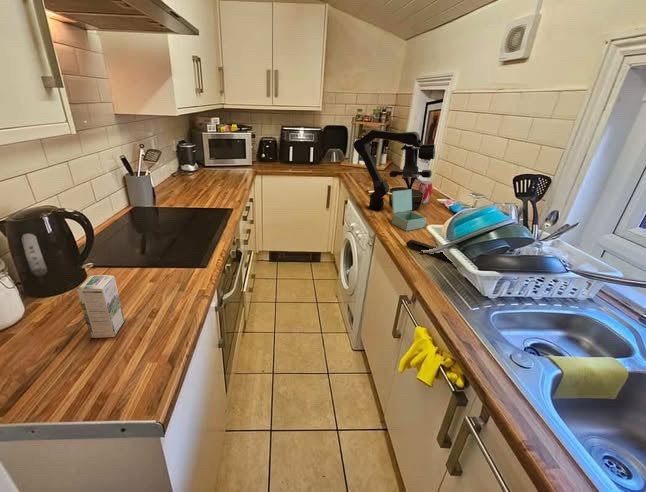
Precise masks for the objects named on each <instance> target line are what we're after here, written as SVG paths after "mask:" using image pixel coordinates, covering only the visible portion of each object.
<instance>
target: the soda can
mask: <svg viewBox="0 0 646 492" xmlns="http://www.w3.org/2000/svg"><path fill="white" fill-rule="evenodd" d="M433 188H434V186H433V181H429V180H422V181H421V182H420V183H419V186H418V191H421V192H422V193H423V199H422V202H421V203H420V204H424V205H425V204H429V203H430V200H431V197H432V192H433ZM418 191H417V192H418Z"/></svg>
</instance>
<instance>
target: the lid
mask: <svg viewBox="0 0 646 492" xmlns="http://www.w3.org/2000/svg"><path fill="white" fill-rule="evenodd" d="M391 205H392V207H391V208H392V214H396V213H402V212H408V211H413V190H412V188H411V189H408V188H407V189H401V190H393V191H391Z"/></svg>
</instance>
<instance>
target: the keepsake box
mask: <svg viewBox="0 0 646 492" xmlns="http://www.w3.org/2000/svg"><path fill="white" fill-rule="evenodd" d="M426 222H427V217H426V216H423V215H422V214H419V213H417V212H415V211H413V210H409V211H403V212H397V213H392V218H391V224H392V225H394V226H396V227H398V228H399V229H402V230H403V231H405V232H408V231H413V230H418V229H422V228H425V227H426Z"/></svg>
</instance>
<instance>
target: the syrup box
mask: <svg viewBox="0 0 646 492" xmlns="http://www.w3.org/2000/svg"><path fill="white" fill-rule="evenodd" d="M115 276H116V275H110V274H109V275H108V274H97V275H90V276H89V277H88V278H86V280H84V282H83V283H82V284H81V285H80V286H79V287H78V288H77V289H76V292H77V297H78V299H79V302H80V307H81V309H82V313H83V315H84V316H83V317H84V320H85V323H86V327H87V330H88V333H89V337H90V338H91V339H99V338H101V339H103V338H115V337H116V335H117V334H118V332H119V331H120V329H121V327H122V326H123V324H124V323H125V317H124V312H123V308H122V307H123V306H122V302H121V299H120V298H121V297H120V295H119V290H118V286H117V281H116V277H115Z"/></svg>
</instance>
